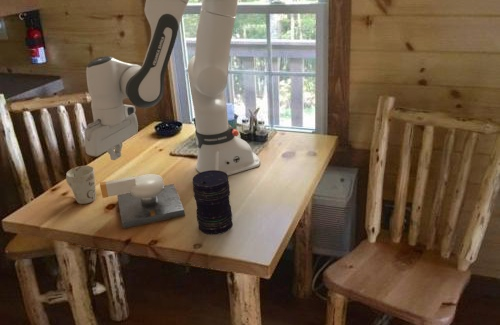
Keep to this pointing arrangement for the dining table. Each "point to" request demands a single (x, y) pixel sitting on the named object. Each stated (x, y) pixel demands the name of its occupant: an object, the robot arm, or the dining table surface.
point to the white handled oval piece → (134, 186)
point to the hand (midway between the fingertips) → (116, 158)
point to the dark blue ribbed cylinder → (212, 202)
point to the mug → (82, 183)
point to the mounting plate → (150, 207)
